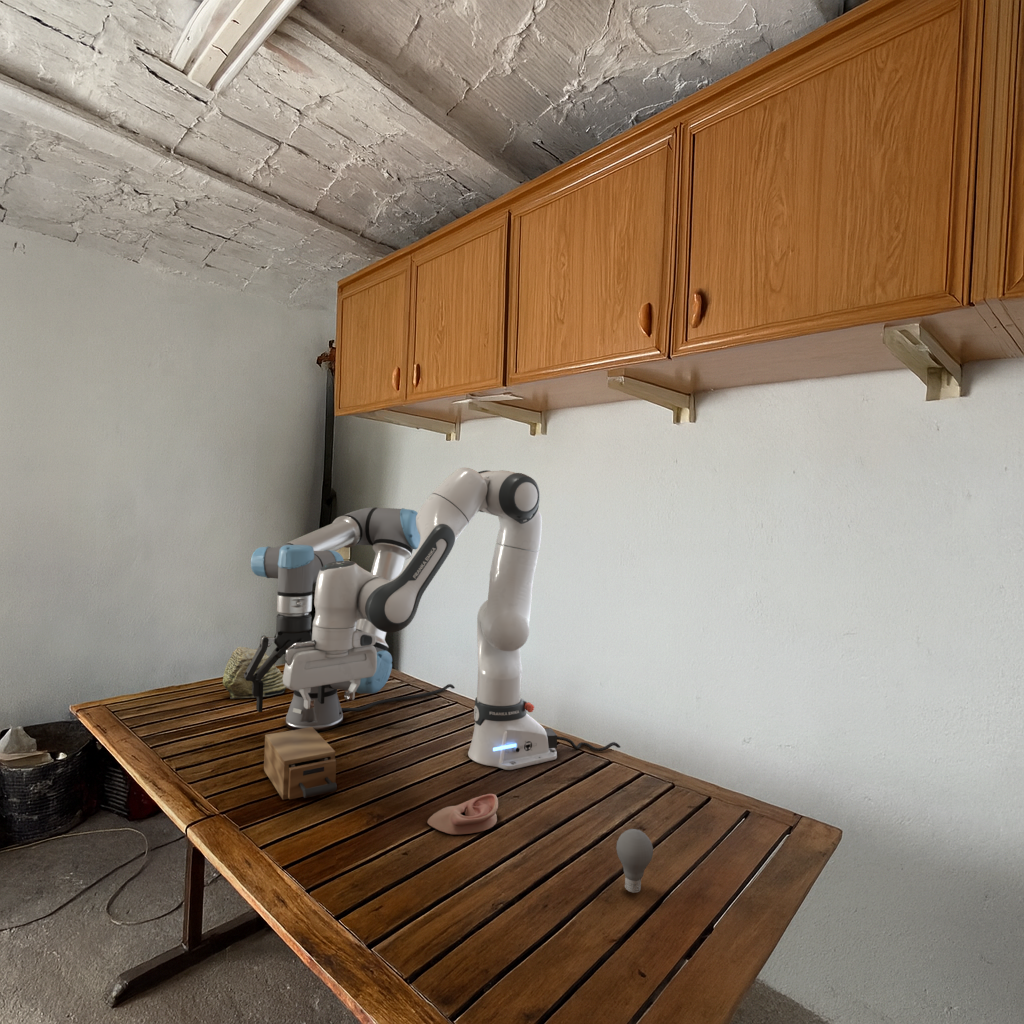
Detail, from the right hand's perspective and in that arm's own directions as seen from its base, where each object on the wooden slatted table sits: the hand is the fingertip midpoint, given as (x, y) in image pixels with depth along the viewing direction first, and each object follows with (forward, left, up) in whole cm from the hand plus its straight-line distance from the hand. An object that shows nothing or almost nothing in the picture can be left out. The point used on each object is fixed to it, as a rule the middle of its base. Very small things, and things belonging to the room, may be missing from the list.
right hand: (329, 703), depth 133 cm
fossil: (+14, -75, -20) cm, 79 cm away
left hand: (+7, -14, -5) cm, 17 cm away
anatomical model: (-25, +18, -20) cm, 36 cm away
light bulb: (-45, +48, -20) cm, 69 cm away
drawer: (+4, -5, -19) cm, 20 cm away
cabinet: (+5, -11, -20) cm, 23 cm away
